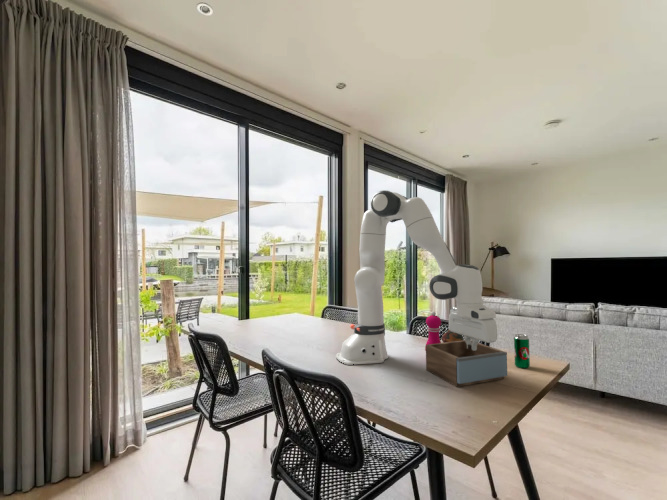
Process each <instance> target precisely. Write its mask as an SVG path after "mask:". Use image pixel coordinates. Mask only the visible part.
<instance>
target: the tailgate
mask: <svg viewBox="0 0 667 500" xmlns="http://www.w3.org/2000/svg"><path fill="white" fill-rule="evenodd" d="M502 351H503V352H496V353H489V354H482V355H474V356H467V357H460V358H456V361H457V383H459V384H462V383H468V382H474V381H480V380H485V379H491V378H497V377H503V376H504V377H507V376H508V352H507V351H504V350H502Z"/></svg>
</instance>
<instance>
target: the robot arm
mask: <svg viewBox="0 0 667 500" xmlns="http://www.w3.org/2000/svg"><path fill="white" fill-rule="evenodd" d="M370 207H371V209H368V210H366V211H365V212H364V213H363V215H362V220H361V226H360V232H359V233H360V234H359V247H358V248H359V250H358V253H359V266H360V267H359V268H360V269H358V270H357V271H356V272H355V275H354V278H353V279H354V280H353V281H354V282H353V283H354V288H355V290H354V291H355V296H356V297H355V298H356V302H357V303H356V304H357V322H358V323H356V325H355V323H354V324H353V323H351V324H350V325H349V328H350V329H352V330H353V331H354V332H353V333H352V334H351V335H349V336H348V338H346V339H345V340H344V341H343V342H342V343H341V349H340V352H337V353H336V355H335V359H336V358H337V359H338V360H339V361H340V362H339V361H338V360H337V359H336V360H337V361H338V362H339V363H341V362H342V364H343V363H344V364H343V365H347V366H350V365H353V364H354V365H367V364H383V363H384V362H385V360H387V359H388V358H389V355H388V350H387V345H386V340H385V334H386V328H385V323H384V303H383V295H382V286H383V284H384V283H385V271H386V270H385V266H386V265H385V264H386V263H385V258H386V256H385V252H386V239H387V238H386V237H387V225H388V223H389V222H390V223H395V222H398V221H401V220H402V221H403V223H404V225H405V228H406V231H407V234H408V236H409V238H410V239H411V241H412V242H413V244H415V245H416V246H417V247H420V248H422V249H424V250H425V251H427V252H429V253H430V254H431V255H432V256H433V258H434V259H435V261H436V263H437V265H438V267H439V270H440V271H441V273H440V274H439V273H438V274H437V275H434V276H433V277H432V278H431V280H430V281H429V287H428V288H429V291H430V293H431V295H432V296H433V298H435V299H437V300H441V301H443V300H444V301H446V300H453V299H455V301H456V307H454V306H453V307H451V308H450V311H449V315H448V330H450V331H451V332H454V333H457V334H460V335H462V336H463V339H464V340H465V342H466V344H467V349H470V350H473V351H476V350H477V344H478V343H480V341H481V342H484V343H487V344H491V343H495V342H497V340H498V327H497V322H496V320H495V318H496V317H497V314H496V312H495V311H494V310H492V309H491V308H489V307H488V306H486V305H484V300H483V296H482V293H483V280H482V278H483V277H482V274H481V270H480V269H479V267H477V266H475V265H473V264H464V263H462V264H460V263H459V264H457V263H456V260H455V259H454V257H453V255H452V253H451V251H450V249H449V247H448V245H447V243H446V242H445V240H444V238H443V237H442V235H441V232H440V230H439V227H438V226H437V223H436V221H435V219H434V217H433V214H432V212H431V209H429V206H428V205H427V203H425V200H424V199H422V198H421V197H418V196H415V197H409V198H407V197H406V196H405V195H403V194H399V193H398V192H393V191H390V190H379V191H377V192H375V193H374V194H373V196H372V197H371V201H370ZM471 341H473V342H471Z"/></svg>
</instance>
